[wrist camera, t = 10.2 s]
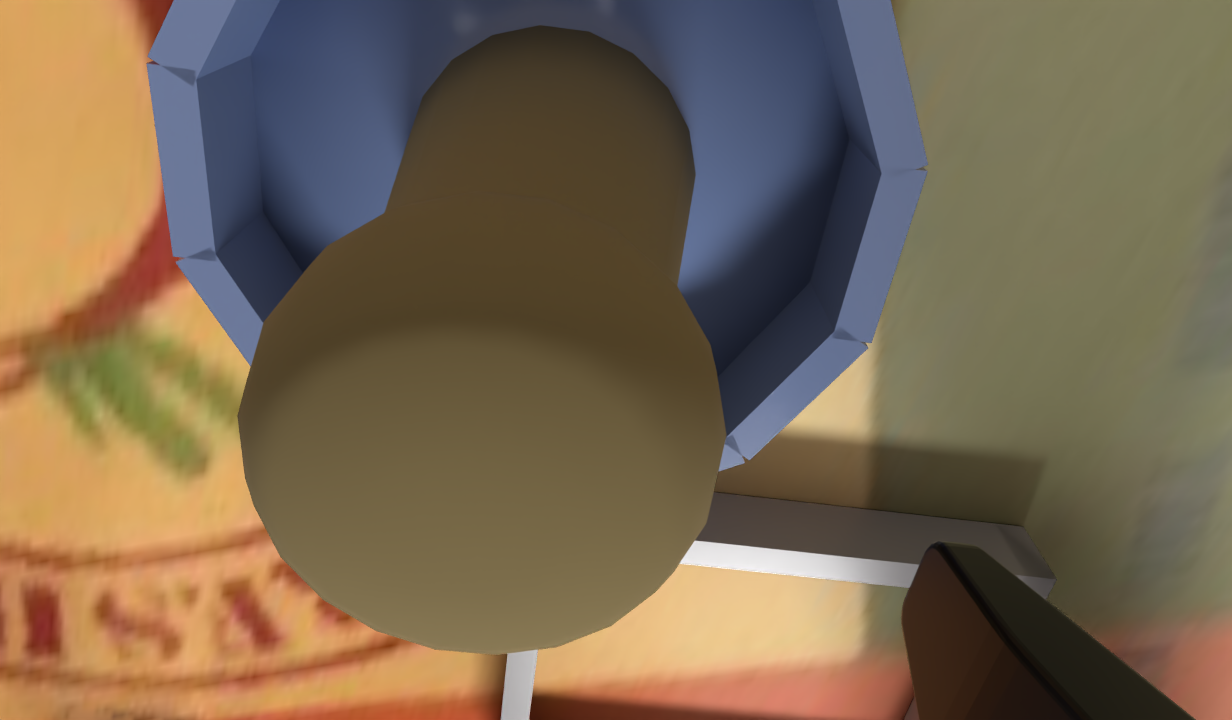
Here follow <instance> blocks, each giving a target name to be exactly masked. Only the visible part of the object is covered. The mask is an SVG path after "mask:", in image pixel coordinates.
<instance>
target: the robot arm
mask: <svg viewBox="0 0 1232 720" xmlns="http://www.w3.org/2000/svg"><path fill="white" fill-rule="evenodd" d="M901 620H902V630H903V636H904V641H905V647H906V652H907V658H908V663H909V669H910V674H911V680H912V685H913V691H914V696H915V702H916V707H917V713H918V718H919V720H1196V719H1194V718H1193V717H1192V716H1191V715H1189V714H1188V713H1187V712H1186V711H1184V710H1183V709H1182V708H1181V707H1179V706H1178V705H1177V704H1176V703H1174V702H1173V701H1172V700H1171V699H1169V698H1168V697H1167V696H1166V695H1164V694H1163V693H1162V692H1161V691H1159V690H1158V689H1157V688H1156V687H1154V686H1153V685H1152V684H1151V683H1149V682H1148V681H1147V680H1146V679H1144V678H1143V677H1142V676H1141V675H1139V674H1138V673H1137V672H1136V671H1134V670H1133V669H1132V668H1131V667H1129V666H1128V665H1127V664H1126V663H1124V662H1123V661H1122V660H1121V659H1119V658H1118V657H1117V656H1116V655H1114V654H1113V653H1112V652H1111V651H1109V650H1108V649H1107V648H1106V647H1104V646H1103V645H1102V644H1101V643H1099V642H1098V641H1097V640H1096V639H1094V638H1093V637H1092V636H1091V635H1089V634H1088V633H1087V632H1086V631H1084V630H1083V629H1082V628H1081V627H1079V626H1078V625H1077V624H1076V623H1074V622H1073V621H1072V620H1071V619H1069V618H1068V617H1067V616H1066V615H1064V614H1063V613H1062V612H1061V611H1059V610H1058V609H1057V608H1056V607H1054V606H1053V605H1052V604H1051V603H1049V602H1048V601H1047V600H1046V599H1044V598H1043V597H1042V596H1041V595H1039V594H1038V593H1037V592H1035V591H1034V590H1033V589H1032V588H1030V587H1029V586H1028V585H1027V584H1025V583H1024V582H1023V581H1022V580H1020V579H1019V578H1018V577H1017V576H1015V575H1014V574H1013V573H1012V572H1010V571H1009V570H1008V569H1007V568H1005V567H1004V566H1003V565H1002V564H1000V563H999V562H998V561H997V560H995V559H994V558H993V557H992V556H990V555H989V554H988V553H987V552H985V551H984V550H983V549H981V548H980V547H978V546H976V545H973V544H966V543H957V542H948V541H937V542H934V543H932V544H931V545H930V546H929V547H928V548H927V549H926V551H925V553H924V555H923V557H922V560H921V562H920V564H919V567H918V569H917V571H916V574H915V576H914V578H913V581H912V583H911V585H910V588H909V590H908V592H907V595H906V597H905V600H904V603H903V607H902V616H901Z"/></svg>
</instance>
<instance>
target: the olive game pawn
mask: <svg viewBox="0 0 1232 720" xmlns="http://www.w3.org/2000/svg"><path fill="white" fill-rule="evenodd" d="M695 177H696V172H695V165H694V158H693V152H692V145H691V138H690V131H689V128H688V126H687V124H686V122H685V120H684V118H683V116H682V114H681V112H680V111H679V109H678V107H677V105H676V103H675V101H674V99H673V97H672V95H671V93H670V91H669V89H668V87H667V86H666V85H665V84H664V83H663V82H662V81H661V80H660V79H659V78H658V77H657V76H656V75H655V74H654V73H653V72H652V71H651V70H650V69H649V68H648V67H647V66H646V65H645V64H644V63H643V62H642V61H641V60H640V59H639V58H638V57H637V56H636V55H634V54H633V53H632V52H629V51H627V50H625V49H623V48H621V47H619V46H617V45H615V44H613V43H611V42H609V41H607V40H605V39H603V38H601V37H599V36H597V35H595V34H593V33H591V32H589V31H581V30H574V29H566V28H559V27H551V26H543V25H538V26H533V27H528V28H524V29H519V30H514V31H509V32H504V33H500V34H495V35H492V36H490V37H488V38H487V39H485V40H483V41H482V42H480V43H478V44H477V45H475V46H474V47H472V48H470V49H469V50H467V51H465V52H464V53H462V54H461V55H459V56H457V57H456V58H454V59H452V60H451V61H450V63H449V64H448V65H447V67H446V68H445V69H444V70H443V72H442V73H441V74H440V75H439V77H438V78H437V79H436V80H435V82H434V83H433V84H432V85H431V87H430V88H429V89H428V90H427V92H426V93H425V94H424V95H423V97H422V100H421V103H420V106H419V109H418V112H417V115H416V118H415V121H414V124H413V126H412V129H411V132H410V135H409V138H408V141H407V144H406V147H405V150H404V154H403V157H402V160H401V163H400V166H399V169H398V172H397V175H396V178H395V181H394V184H393V188H392V191H391V194H390V197H389V200H388V203H387V206H386V209H385V212H384V213H383V214H382V215H380V216H378V217H376V218H375V219H373V220H371V221H369V222H368V223H366V224H364V225H362V226H361V227H359V228H357V229H355V230H354V231H352V232H350V233H348V234H347V235H345V236H343V237H342V238H340V239H338V240H336V241H335V242H333V243H331V244H329V245H328V246H327V247H326V248H325V249H324V250H323V251H322V252H321V253H320V254H319V255H318V257H317V258H316V259H315V260H314V261H313V262H312V263H311V264H310V266H309V267H308V268H307V269H306V270H305V272H304V273H303V274H302V275H301V276H300V278H299V279H298V280H297V281H296V283H295V284H294V285H293V286H292V288H291V289H290V290H289V291H288V293H287V294H286V295H285V296H284V297H283V299H282V300H281V301H280V302H279V304H278V305H277V306H276V307H275V309H274V310H273V311H272V312H271V314H270V315H269V316H268V317H267V318H266V320H265V321H264V323H263V326H262V329H261V333H260V336H259V340H258V343H257V347H256V350H255V354H254V357H253V361H252V364H251V368H250V371H249V375H248V378H247V382H246V385H245V389H244V393H243V397H242V401H241V405H240V408H239V412H238V424H239V432H240V440H241V448H242V457H243V465H244V473H245V479H246V482H247V485H248V488H249V491H250V495H251V498H252V501H253V504H254V507H255V509H256V511H257V512H258V514H259V516H260V518H261V520H262V522H263V524H264V526H265V528H266V530H267V532H268V534H269V536H270V537H271V539H272V541H273V543H274V545H275V547H276V549H277V551H278V553H279V555H280V557H281V558H282V559H283V560H284V561H285V562H286V563H287V564H288V565H289V566H290V567H291V568H292V569H293V570H294V571H295V572H296V573H297V574H298V575H299V576H300V577H301V578H302V579H303V580H304V581H305V582H306V583H307V584H308V585H309V586H310V587H311V588H312V589H313V590H314V591H315V592H316V593H317V594H318V595H319V596H320V597H321V598H322V599H323V600H325V601H326V602H328V603H330V604H331V605H333V606H335V607H336V608H338V609H340V610H342V611H343V612H345V613H347V614H348V615H350V616H352V617H353V618H355V619H357V620H359V621H360V622H362V623H364V624H365V625H367V626H369V627H370V628H372V629H374V630H376V631H378V632H381V633H385V634H388V635H391V636H394V637H397V638H400V639H404V640H407V641H410V642H413V643H416V644H420V645H423V646H426V647H429V648H432V649H435V650H446V651H458V652H469V653H480V654H491V655H501V654H509V653H516V652H524V651H531V650H539V649H546V648H554V647H558V646H561V645H564V644H566V643H569V642H571V641H574V640H576V639H579V638H581V637H584V636H587V635H589V634H592V633H594V632H597V631H599V630H602V629H604V628H607V627H610V626H612V625H613V624H614V623H615V622H617V621H618V620H619V619H621V618H622V617H623V616H625V615H626V614H627V613H629V612H630V611H631V610H633V609H634V608H635V607H636V606H638V605H639V604H640V603H642V602H643V601H644V600H646V599H647V598H648V597H650V596H651V595H652V594H654V593H655V592H656V591H657V590H658V589H659V587H660V586H661V585H662V584H663V583H664V582H665V581H666V580H667V579H668V578H669V576H670V575H671V574H672V573H673V572H674V571H675V569H676V568H677V566H678V565H679V563H680V562H681V560H682V559H683V557H684V556H685V554H686V553H687V551H688V550H689V548H690V547H691V546H692V544H693V543H694V541H695V540H696V538H697V537H698V535H699V534H700V532H701V531H702V529H703V528H704V526H705V525H706V523H707V519H708V515H709V510H710V506H711V501H712V497H713V493H714V488H715V484H716V480H717V475H718V471H719V467H720V462H721V458H722V453H723V449H724V444H725V440H726V428H725V422H724V415H723V409H722V402H721V396H720V390H719V383H718V377H717V371H716V366H715V362H714V358H713V354H712V349H711V345H710V343H709V341H708V340H707V338H706V336H705V334H704V333H703V331H702V329H701V327H700V326H699V324H698V322H697V320H696V318H695V317H694V315H693V313H692V311H691V310H690V308H689V306H688V304H687V302H686V301H685V299H684V297H683V295H682V294H681V292H680V290H679V288H678V287H677V286H678V280H679V274H680V268H681V262H682V256H683V250H684V243H685V237H686V231H687V225H688V219H689V213H690V207H691V201H692V195H693V189H694V183H695Z"/></svg>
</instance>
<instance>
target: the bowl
mask: <svg viewBox="0 0 1232 720" xmlns="http://www.w3.org/2000/svg"><path fill="white" fill-rule="evenodd" d="M538 25H543V26H551V27H559V28H566V29H574V30H581V31H589V32H591V33H593V34H595V35H597V36H599V37H601V38H603V39H605V40H607V41H609V42H611V43H613V44H615V45H617V46H619V47H621V48H623V49H625V50H627V51H629V52H632V53H633V54H634V55H636V56H637V57H638V58H639V59H640V60H641V61H642V62H643V63H644V64H645V65H646V66H647V67H648V68H649V69H650V70H651V71H652V72H653V73H654V74H655V75H656V76H657V77H658V78H659V79H660V80H661V81H662V82H663V83H664V84H665V85H666V86H667V87H668V89H669V91H670V93H671V95H672V97H673V99H674V101H675V103H676V105H677V107H678V109H679V111H680V112H681V114H682V116H683V118H684V120H685V122H686V124H687V126H688V128H689V131H690V138H691V145H692V152H693V158H694V165H695V172H696V177H695V183H694V189H693V195H692V201H691V207H690V213H689V219H688V225H687V231H686V237H685V243H684V250H683V256H682V262H681V268H680V274H679V280H678V286H677V287H678V288H679V290H680V292H681V294H682V295H683V297H684V299H685V301H686V302H687V304H688V306H689V308H690V310H691V311H692V313H693V315H694V317H695V318H696V320H697V322H698V324H699V326H700V327H701V329H702V331H703V333H704V334H705V336H706V338H707V340H708V341H709V343H710V345H711V349H712V354H713V358H714V362H715V366H716V371H717V377H718V383H719V390H720V396H721V402H722V409H723V415H724V422H725V428H726V440H725V444H724V449H723V453H722V458H721V462H720V467H719V471H722V470H725V469H728V468H731V467H734V466H737V465H741V464H744V463H745V462H744V457H745V458H747V459H748V460H750V459H752V458H753V457H754V456H755V455H756V454H757V453H758V452H759V451H760V450H761V449H762V448H763V447H764V446H765V445H766V444H767V443H768V442H769V441H771V440H772V439H773V438H774V437H775V436H776V435H777V434H778V433H779V432H780V431H781V430H782V429H783V428H784V427H785V426H786V425H787V424H788V423H790V422H791V421H792V420H793V419H794V418H795V417H796V416H797V415H798V414H799V413H800V412H801V411H802V410H803V409H804V408H805V407H806V406H807V405H809V404H810V403H811V402H812V401H813V400H814V399H815V398H816V397H817V396H818V395H819V394H820V393H821V392H822V391H823V390H824V389H825V388H827V387H828V386H829V385H830V384H831V383H832V382H833V381H834V380H835V379H836V378H837V377H838V376H839V375H840V374H841V373H842V372H843V371H844V370H846V369H847V368H848V367H849V366H850V365H851V364H852V363H853V362H854V361H855V360H856V359H857V358H858V357H859V356H860V355H861V354H862V353H863V352H865V351H866V350H867V349H868V347H867V345H866V343H872V340H873V337H874V334H875V331H876V327H877V324H878V321H879V318H880V315H881V312H882V309H883V306H884V303H885V300H886V297H887V294H888V291H889V288H890V285H891V282H892V279H893V276H894V272H895V269H896V266H897V263H898V260H899V257H900V254H901V251H902V248H903V245H904V242H905V239H906V236H907V233H908V230H909V227H910V224H911V221H912V217H913V214H914V211H915V208H916V205H917V202H918V199H919V196H920V193H921V190H922V187H923V184H924V181H925V178H926V175H927V172H928V171H927V170H926V169H924V168H923V166H926V165H928V162H927V158H926V154H925V149H924V145H923V140H922V136H921V132H920V127H919V123H918V118H917V114H916V110H915V105H914V101H913V96H912V92H911V88H910V83H909V79H908V74H907V70H906V66H905V61H904V57H903V52H902V48H901V44H900V39H899V35H898V30H897V26H896V22H895V17H894V13H893V8H892V4H891V0H174V1H173V3H172V5H171V7H170V10H169V12H168V14H167V16H166V18H165V20H164V22H163V25H162V27H161V29H160V31H159V33H158V35H157V37H156V39H155V42H154V44H153V46H152V48H151V50H150V52H149V54H148V56H147V57H149V58H150V59H152V60H153V61H152V62H149V63H147V70H148V77H149V85H150V92H151V99H152V106H153V114H154V121H155V128H156V136H157V143H158V150H159V157H160V165H161V172H162V179H163V186H164V194H165V201H166V208H167V216H168V223H169V230H170V237H171V245H172V252H173V256H174V257H181V258H180V259H179V260H178V261H176V264H177V265H178V266H179V268H180V269H181V270H182V272H183V273H184V275H185V276H186V277H187V279H188V280H189V282H190V283H191V284H192V286H193V287H194V288H195V290H196V291H197V293H198V294H199V295H200V297H201V298H202V300H203V301H204V302H205V304H206V305H207V306H208V308H209V309H210V311H211V312H212V313H213V315H214V316H215V318H216V319H217V320H218V322H219V323H220V324H221V326H222V327H223V329H224V330H225V331H226V333H227V334H228V336H229V337H230V338H231V340H232V341H233V343H234V344H235V345H236V347H237V348H238V349H239V351H240V352H241V354H242V355H243V356H244V358H245V359H246V361H247V362H248V363H249V365H250V366H251V364H252V361H253V357H254V354H255V350H256V347H257V343H258V340H259V336H260V333H261V329H262V326H263V323H264V321H265V320H266V318H267V317H268V316H269V315H270V314H271V312H272V311H273V310H274V309H275V307H276V306H277V305H278V304H279V302H280V301H281V300H282V299H283V297H284V296H285V295H286V294H287V293H288V291H289V290H290V289H291V288H292V286H293V285H294V284H295V283H296V281H297V280H298V279H299V278H300V276H301V275H302V274H303V273H304V272H305V270H306V269H307V268H308V267H309V266H310V264H311V263H312V262H313V261H314V260H315V259H316V258H317V257H318V255H319V254H320V253H321V252H322V251H323V250H324V249H325V248H326V247H327V246H328V245H329V244H331V243H333V242H335V241H336V240H338V239H340V238H342V237H343V236H345V235H347V234H348V233H350V232H352V231H354V230H355V229H357V228H359V227H361V226H362V225H364V224H366V223H368V222H369V221H371V220H373V219H375V218H376V217H378V216H380V215H382V214H383V213H384V212H385V209H386V206H387V203H388V200H389V197H390V194H391V191H392V188H393V184H394V181H395V178H396V175H397V172H398V169H399V166H400V163H401V160H402V157H403V154H404V150H405V147H406V144H407V141H408V138H409V135H410V132H411V129H412V126H413V124H414V121H415V118H416V115H417V112H418V109H419V106H420V103H421V100H422V97H423V95H424V94H425V93H426V92H427V90H428V89H429V88H430V87H431V85H432V84H433V83H434V82H435V80H436V79H437V78H438V77H439V75H440V74H441V73H442V72H443V70H444V69H445V68H446V67H447V65H448V64H449V63H450V61H451V60H452V59H454V58H456V57H457V56H459V55H461V54H462V53H464V52H465V51H467V50H469V49H470V48H472V47H474V46H475V45H477V44H478V43H480V42H482V41H483V40H485V39H487V38H488V37H490V36H492V35H495V34H500V33H504V32H509V31H514V30H519V29H524V28H528V27H533V26H538ZM865 342H866V343H865ZM743 456H744V457H743ZM719 471H718V472H719Z"/></svg>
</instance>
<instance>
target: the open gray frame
mask: <svg viewBox="0 0 1232 720" xmlns="http://www.w3.org/2000/svg"><path fill="white" fill-rule="evenodd" d="M937 541H948V542H957V543H966V544H973V545H976V546H978V547H980V548H981V549H983V550H984V551H985V552H987V553H988V554H989V555H990V556H992V557H993V558H994V559H995V560H997V561H998V562H999V563H1000V564H1002V565H1003V566H1004V567H1005V568H1007V569H1008V570H1009V571H1010V572H1012V573H1013V574H1014V575H1015V576H1017V577H1018V578H1019V579H1020V580H1022V581H1023V582H1024V583H1025V584H1027V585H1028V586H1029V587H1030V588H1032V589H1033V590H1034V591H1035V592H1037V593H1038V594H1039V595H1041V596H1042V597H1043V598H1044V599H1047V597H1048V595H1049V593H1050V591H1051V590H1052V588H1053V586H1054V584H1055V582H1056V580H1057V579H1056V577H1055V576H1054V574H1053V573H1052V571H1051V569H1050V568H1049V566H1048V565H1047V563H1046V561H1045V560H1044V558H1043V557H1042V555H1041V554H1040V552H1039V550H1038V549H1037V547H1036V546H1035V544H1034V543H1033V541H1032V539H1031V538H1030V536H1029V535H1028V533H1027V532H1026V530H1025V528H1024V527H1021V526H1012V525H1003V524H994V523H985V522H976V521H967V520H958V519H949V518H940V517H931V516H922V515H913V514H904V513H895V512H886V511H877V510H868V509H859V508H850V507H842V506H833V505H824V504H815V503H806V502H797V501H788V500H779V499H770V498H761V497H752V496H743V495H734V494H725V493H716V492H714V493H713V497H712V501H711V506H710V510H709V515H708V519H707V523H706V525H705V526H704V528H703V529H702V531H701V532H700V534H699V535H698V537H697V538H696V540H695V541H694V543H693V544H692V546H691V547H690V548H689V550H688V551H687V553H686V554H685V556H684V557H683V559H682V560H681V562H680V563H679V564H688V565H697V566H707V567H716V568H726V569H735V570H745V571H754V572H763V573H773V574H782V575H792V576H801V577H811V578H820V579H830V580H839V581H849V582H858V583H868V584H877V585H887V586H896V587H905V588H910V585H911V583H912V581H913V578H914V576H915V574H916V571H917V569H918V567H919V564H920V562H921V560H922V557H923V555H924V553H925V551H926V549H927V548H928V547H929V546H930V545H931V544H932V543H934V542H937ZM537 653H538V650H531V651H524V652H516V653H509V654H507V664H506V674H505V683H504V693H503V703H502V713H501V720H529V715H530V708H531V700H532V692H533V684H534V676H535V668H536V661H537ZM904 720H919V718H918V713H917V707H916V702H915V696H914V698H913V701H912V703H911V705H910V707H909V709H908V711H907V713H906V715H905V718H904Z"/></svg>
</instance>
